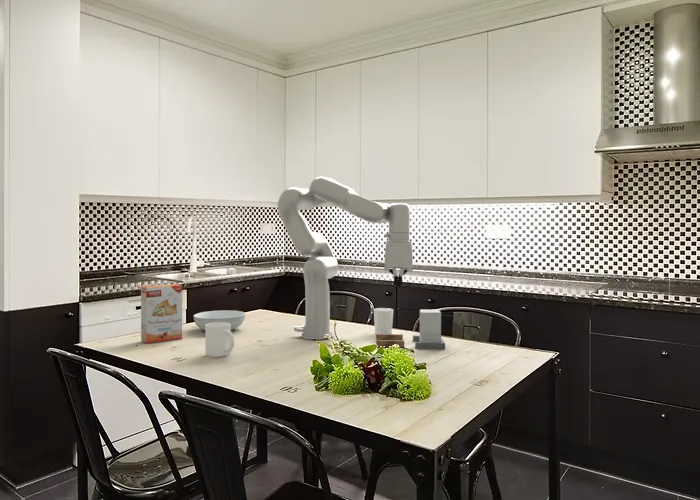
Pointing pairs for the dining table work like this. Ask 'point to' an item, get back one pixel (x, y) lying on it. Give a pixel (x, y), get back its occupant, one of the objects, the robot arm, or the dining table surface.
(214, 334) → the mug
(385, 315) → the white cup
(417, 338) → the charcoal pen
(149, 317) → the cracker box
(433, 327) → the supplement box
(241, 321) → the serving bowl
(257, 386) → the dining table surface
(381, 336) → the walnut rails
